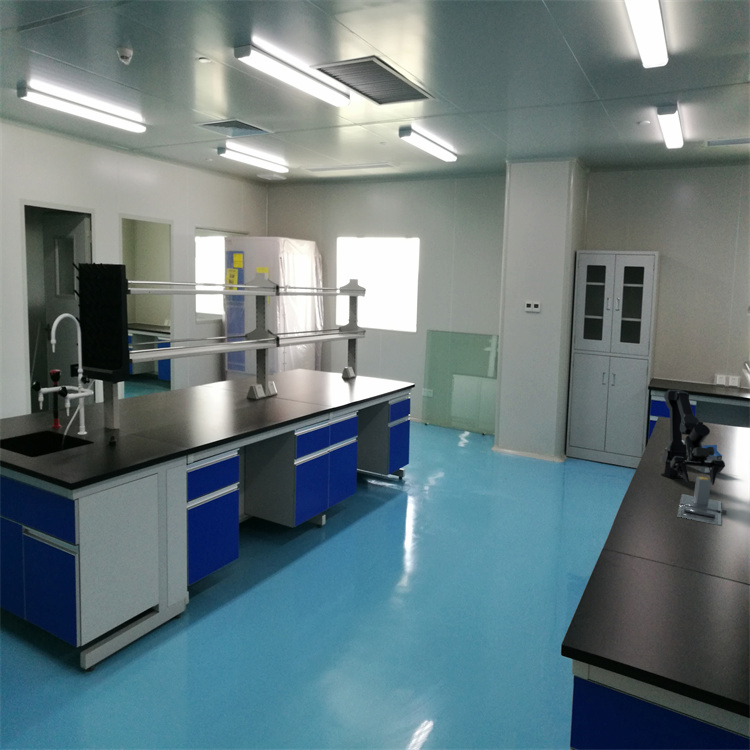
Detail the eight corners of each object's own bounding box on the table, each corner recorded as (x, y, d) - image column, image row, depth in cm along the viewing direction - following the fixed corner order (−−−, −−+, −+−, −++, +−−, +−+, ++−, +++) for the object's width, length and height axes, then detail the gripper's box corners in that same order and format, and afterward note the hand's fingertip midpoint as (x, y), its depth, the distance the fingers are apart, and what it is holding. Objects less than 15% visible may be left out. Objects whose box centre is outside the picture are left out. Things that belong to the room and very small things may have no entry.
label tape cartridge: (704, 473, 278) (707, 447, 277) (697, 471, 282) (701, 445, 280) (720, 473, 281) (723, 447, 279) (713, 470, 285) (716, 444, 283)
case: (681, 495, 247) (682, 490, 246) (726, 503, 239) (726, 498, 239) (677, 516, 222) (677, 512, 222) (726, 526, 214) (727, 521, 214)
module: (693, 499, 239) (696, 475, 238) (704, 500, 239) (707, 476, 237) (696, 503, 236) (700, 479, 234) (708, 504, 235) (711, 480, 233)
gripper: (676, 436, 242) (681, 471, 234) (726, 440, 240) (734, 476, 231) (667, 450, 251) (672, 484, 243) (716, 454, 249) (723, 489, 240)
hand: (700, 483), depth 239 cm, fingers open, 9 cm apart
